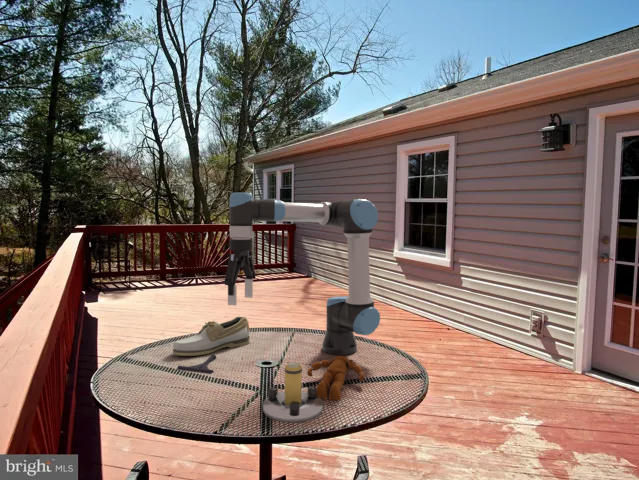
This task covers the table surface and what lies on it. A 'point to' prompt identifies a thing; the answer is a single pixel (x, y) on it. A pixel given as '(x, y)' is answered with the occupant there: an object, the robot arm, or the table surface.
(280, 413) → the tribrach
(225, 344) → the boat shoe
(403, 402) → the table surface
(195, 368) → the bracket
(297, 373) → the travel mug
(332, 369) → the toy
